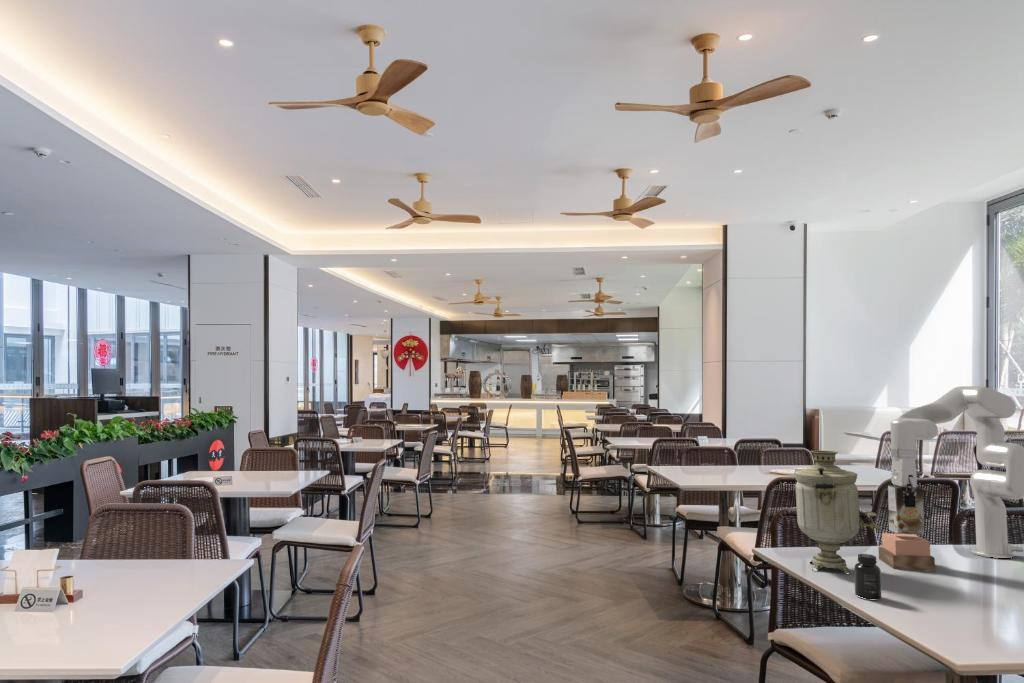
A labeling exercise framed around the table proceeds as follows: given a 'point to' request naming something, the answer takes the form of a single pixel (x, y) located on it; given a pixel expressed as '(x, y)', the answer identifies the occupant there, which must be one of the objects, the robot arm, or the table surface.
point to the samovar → (828, 508)
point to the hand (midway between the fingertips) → (905, 504)
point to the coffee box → (905, 511)
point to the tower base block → (906, 561)
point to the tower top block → (906, 544)
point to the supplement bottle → (867, 577)
